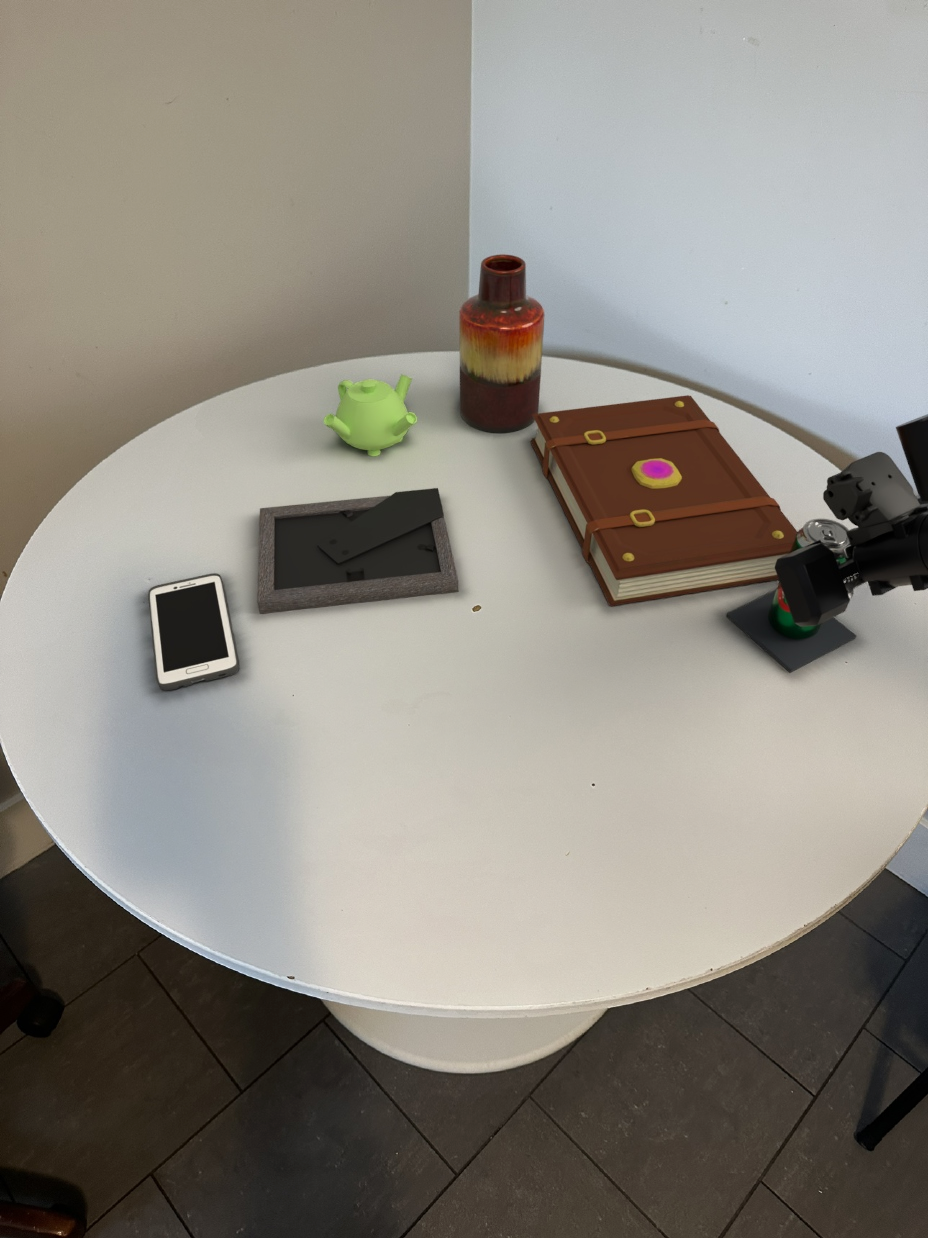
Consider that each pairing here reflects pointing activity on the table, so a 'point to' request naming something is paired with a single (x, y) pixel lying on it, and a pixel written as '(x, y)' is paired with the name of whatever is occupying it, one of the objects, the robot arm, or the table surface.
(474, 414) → the vase
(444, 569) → the picture frame
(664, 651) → the table surface
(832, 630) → the coaster mat
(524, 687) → the table surface
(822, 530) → the soda can
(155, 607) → the cell phone
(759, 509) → the book
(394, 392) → the teapot
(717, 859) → the table surface
